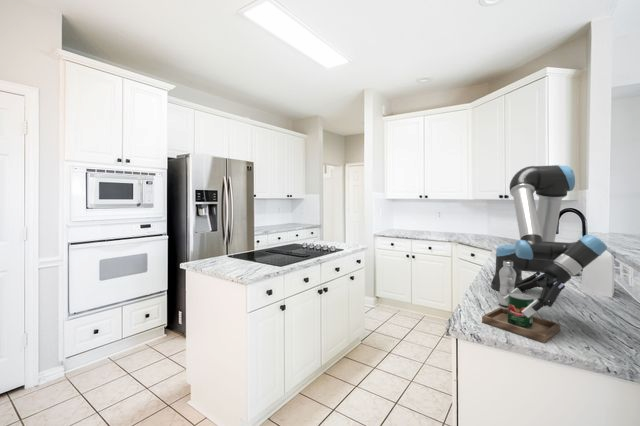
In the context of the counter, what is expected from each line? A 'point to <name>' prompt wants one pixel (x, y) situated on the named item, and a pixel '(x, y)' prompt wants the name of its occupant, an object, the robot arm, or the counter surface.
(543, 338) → the walnut tray
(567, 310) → the counter surface
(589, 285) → the milk
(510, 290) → the plastic bottle
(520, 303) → the canned tomato
